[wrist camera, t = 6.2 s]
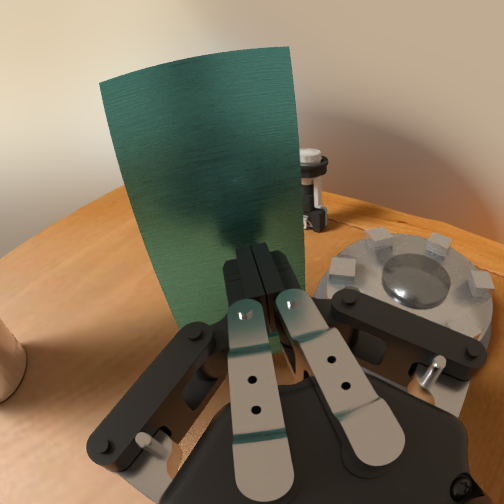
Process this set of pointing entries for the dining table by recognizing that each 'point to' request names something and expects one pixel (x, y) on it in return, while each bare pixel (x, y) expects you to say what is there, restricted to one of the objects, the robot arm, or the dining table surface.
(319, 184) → the push button
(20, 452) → the dining table surface
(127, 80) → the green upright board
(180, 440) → the robot arm
